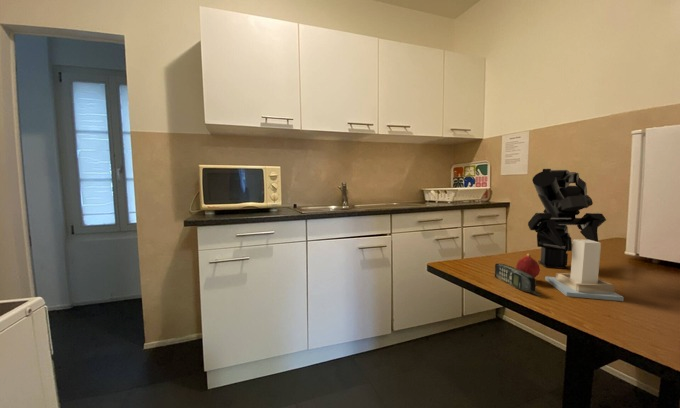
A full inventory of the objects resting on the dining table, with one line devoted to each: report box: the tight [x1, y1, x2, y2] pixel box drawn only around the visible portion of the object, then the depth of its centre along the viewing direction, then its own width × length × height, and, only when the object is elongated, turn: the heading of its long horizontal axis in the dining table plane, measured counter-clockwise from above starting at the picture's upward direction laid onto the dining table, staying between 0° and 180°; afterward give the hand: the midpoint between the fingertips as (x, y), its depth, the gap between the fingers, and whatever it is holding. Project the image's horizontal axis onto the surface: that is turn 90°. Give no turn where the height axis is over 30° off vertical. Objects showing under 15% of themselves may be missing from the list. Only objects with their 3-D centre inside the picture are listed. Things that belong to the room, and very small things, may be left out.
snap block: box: [570, 238, 602, 284], centre depth 75 cm, size 4×4×12 cm
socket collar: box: [555, 272, 616, 293], centre depth 76 cm, size 9×9×2 cm
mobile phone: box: [494, 263, 542, 297], centre depth 79 cm, size 5×3×15 cm
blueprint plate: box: [545, 275, 625, 302], centre depth 76 cm, size 12×12×1 cm
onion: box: [516, 253, 541, 279], centre depth 82 cm, size 6×6×8 cm
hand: (579, 246), depth 77 cm, fingers open, 9 cm apart
